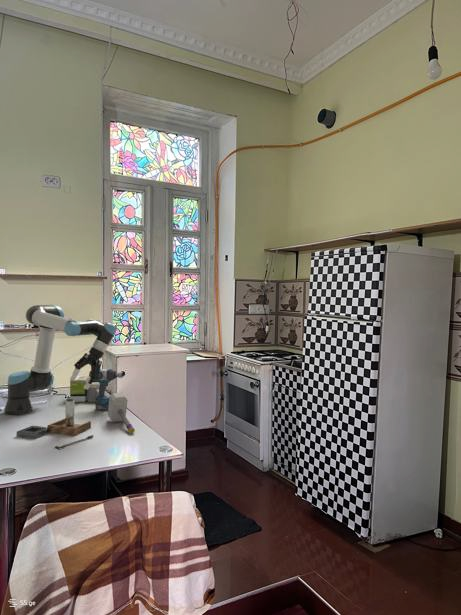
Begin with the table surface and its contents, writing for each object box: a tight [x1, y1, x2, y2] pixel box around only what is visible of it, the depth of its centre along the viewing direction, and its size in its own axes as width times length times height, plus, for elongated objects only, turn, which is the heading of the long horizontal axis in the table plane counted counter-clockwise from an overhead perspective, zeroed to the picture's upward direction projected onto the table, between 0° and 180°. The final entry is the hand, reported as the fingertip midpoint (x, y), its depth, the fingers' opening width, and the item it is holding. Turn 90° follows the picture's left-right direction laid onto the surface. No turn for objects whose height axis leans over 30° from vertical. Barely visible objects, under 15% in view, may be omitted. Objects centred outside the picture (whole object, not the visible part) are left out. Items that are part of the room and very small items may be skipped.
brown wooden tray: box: [46, 417, 92, 436], centre depth 226 cm, size 16×14×4 cm
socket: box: [16, 425, 50, 440], centre depth 217 cm, size 11×11×2 cm
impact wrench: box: [88, 368, 124, 411], centre depth 271 cm, size 8×23×25 cm, turn 78°
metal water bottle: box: [64, 397, 76, 428], centre depth 226 cm, size 4×4×15 cm
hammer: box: [107, 392, 135, 434], centre depth 234 cm, size 15×8×30 cm
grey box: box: [86, 383, 100, 403], centre depth 291 cm, size 13×10×10 cm
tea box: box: [69, 375, 89, 403], centre depth 295 cm, size 15×10×15 cm
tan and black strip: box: [54, 434, 94, 451], centre depth 205 cm, size 21×7×1 cm, turn 147°
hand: (78, 384), depth 236 cm, fingers open, 13 cm apart
